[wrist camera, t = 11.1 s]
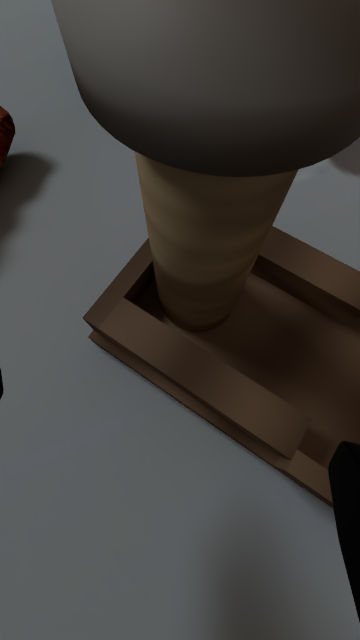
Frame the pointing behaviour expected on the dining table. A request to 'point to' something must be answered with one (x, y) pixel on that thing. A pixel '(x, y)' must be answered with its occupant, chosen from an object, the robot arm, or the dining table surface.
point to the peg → (216, 122)
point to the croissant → (5, 134)
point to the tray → (254, 355)
